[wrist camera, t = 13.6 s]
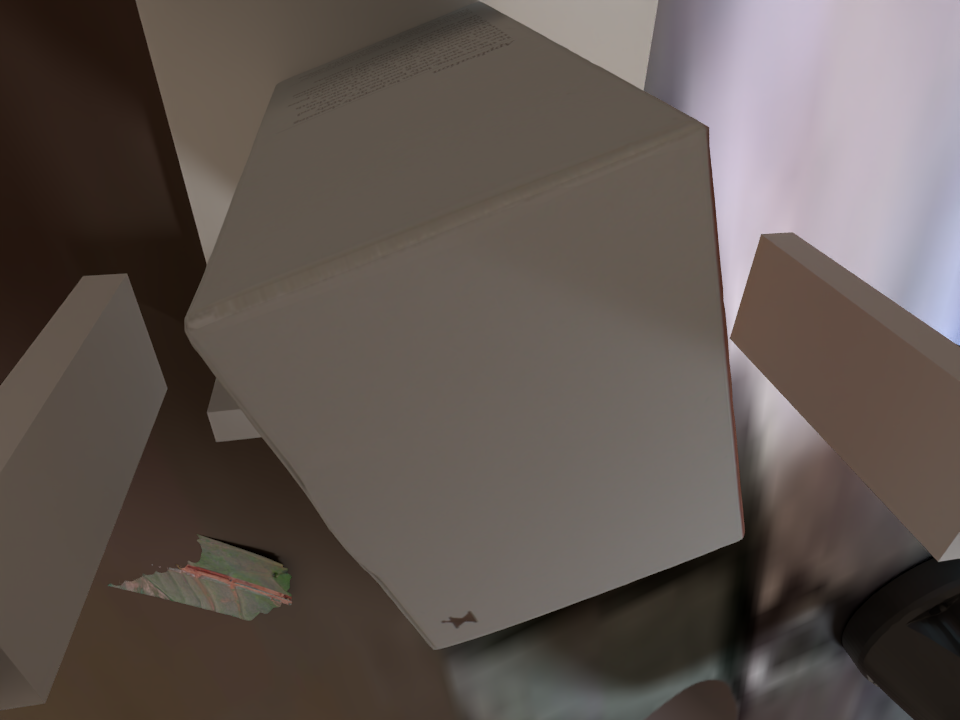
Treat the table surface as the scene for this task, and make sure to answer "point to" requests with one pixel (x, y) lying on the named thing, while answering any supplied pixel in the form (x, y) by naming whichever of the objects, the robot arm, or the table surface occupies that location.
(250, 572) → the map
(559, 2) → the end holder
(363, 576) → the table surface
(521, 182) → the small box
